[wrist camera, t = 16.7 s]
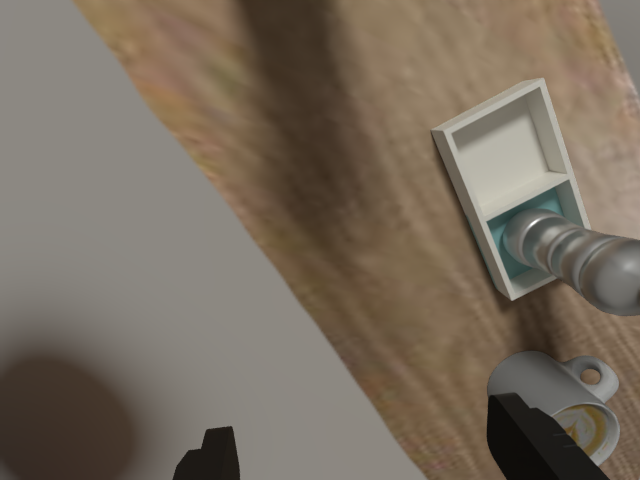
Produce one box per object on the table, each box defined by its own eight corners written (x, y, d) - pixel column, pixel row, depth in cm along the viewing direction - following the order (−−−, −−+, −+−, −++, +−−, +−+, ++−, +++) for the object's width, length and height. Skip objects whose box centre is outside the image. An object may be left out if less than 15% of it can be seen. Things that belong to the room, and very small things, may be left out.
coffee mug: (507, 427, 55) (554, 492, 45) (474, 378, 52) (516, 435, 43) (594, 375, 54) (661, 430, 44) (564, 321, 51) (629, 367, 41)
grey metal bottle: (546, 258, 48) (721, 348, 28) (490, 258, 47) (632, 349, 28) (556, 204, 46) (751, 261, 27) (499, 203, 45) (655, 260, 26)
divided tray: (430, 130, 43) (443, 130, 39) (522, 81, 42) (543, 77, 39) (495, 288, 49) (511, 300, 45) (577, 247, 48) (599, 257, 45)
